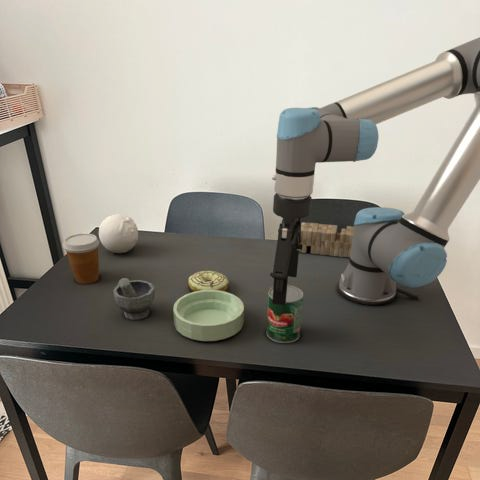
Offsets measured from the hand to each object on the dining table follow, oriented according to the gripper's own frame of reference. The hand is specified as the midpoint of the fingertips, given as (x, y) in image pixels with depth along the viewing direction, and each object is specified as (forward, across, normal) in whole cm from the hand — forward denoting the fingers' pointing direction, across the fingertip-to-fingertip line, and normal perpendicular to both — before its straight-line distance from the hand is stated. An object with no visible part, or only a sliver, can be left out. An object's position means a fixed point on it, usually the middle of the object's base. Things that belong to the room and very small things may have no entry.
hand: (285, 289), depth 103 cm
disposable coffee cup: (+13, -12, -59) cm, 61 cm away
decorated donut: (+12, -16, -24) cm, 31 cm away
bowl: (+12, +1, -18) cm, 21 cm away
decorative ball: (+12, -32, -59) cm, 68 cm away
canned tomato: (+12, 0, 0) cm, 12 cm away
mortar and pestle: (+12, +2, -37) cm, 39 cm away
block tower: (+12, -52, +8) cm, 54 cm away
